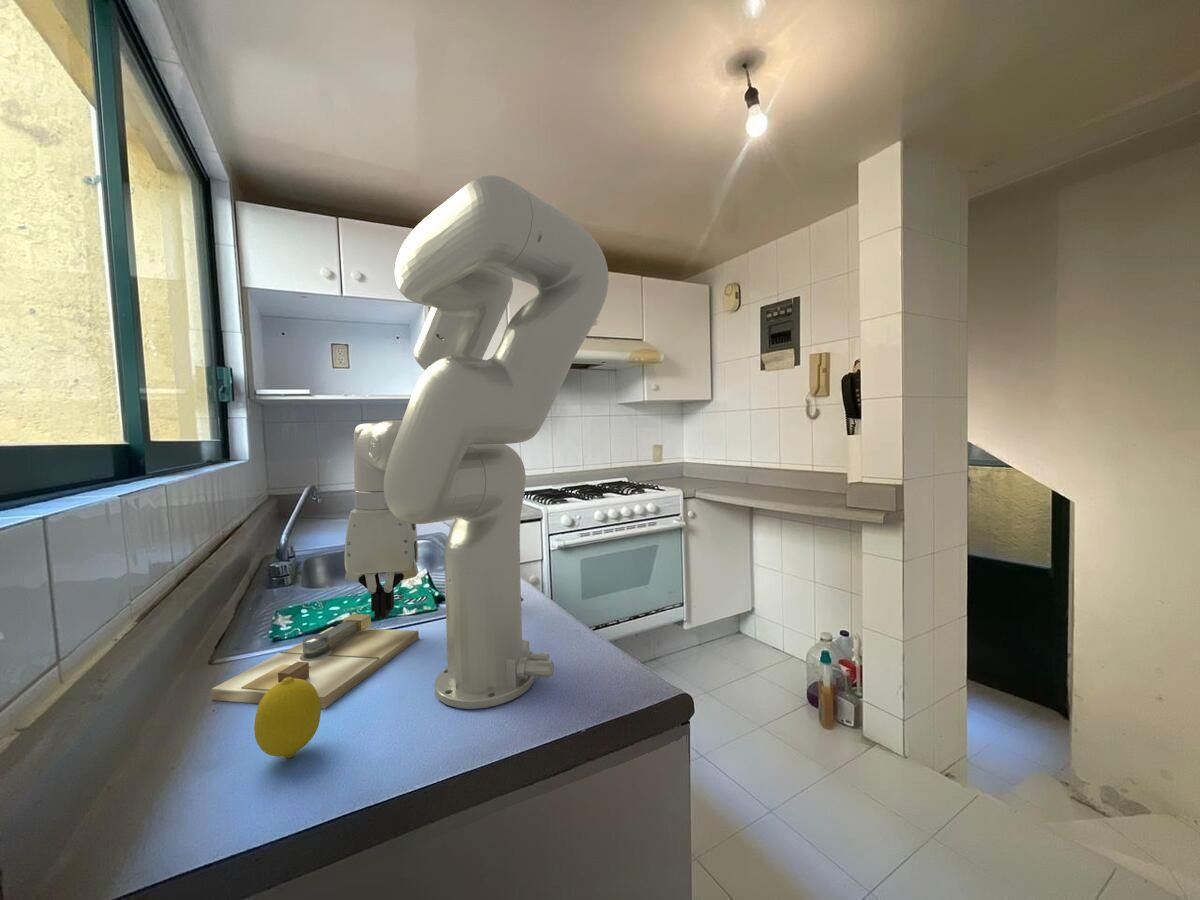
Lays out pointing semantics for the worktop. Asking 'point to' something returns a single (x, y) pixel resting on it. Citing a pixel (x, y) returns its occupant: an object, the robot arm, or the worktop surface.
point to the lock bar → (335, 635)
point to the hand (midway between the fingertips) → (382, 614)
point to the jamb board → (319, 667)
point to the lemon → (287, 717)
